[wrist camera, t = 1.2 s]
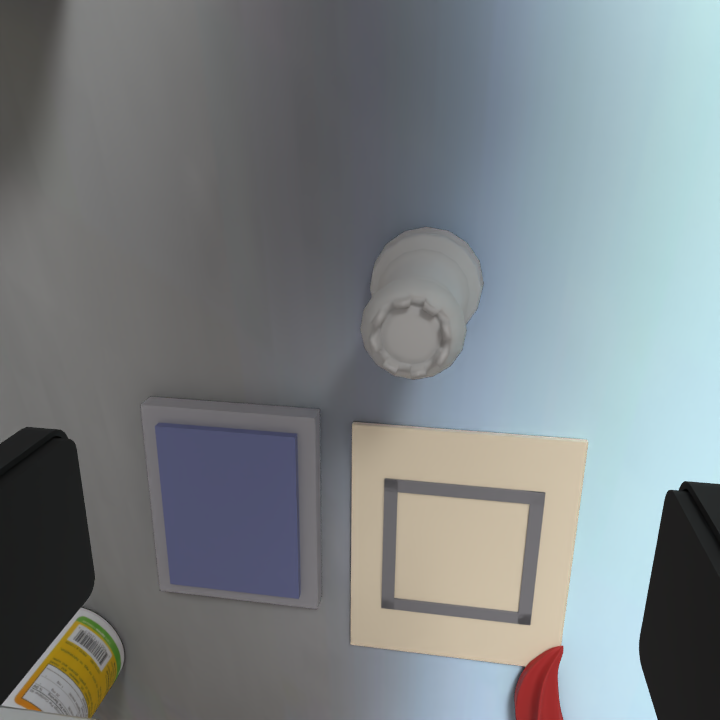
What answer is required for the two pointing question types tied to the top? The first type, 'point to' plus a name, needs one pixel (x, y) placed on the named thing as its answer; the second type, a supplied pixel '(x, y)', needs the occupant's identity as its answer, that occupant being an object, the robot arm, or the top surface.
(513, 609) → the print card
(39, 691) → the supplement bottle
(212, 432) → the ink pad
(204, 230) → the top surface
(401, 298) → the rook chess piece
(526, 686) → the cayenne pepper
